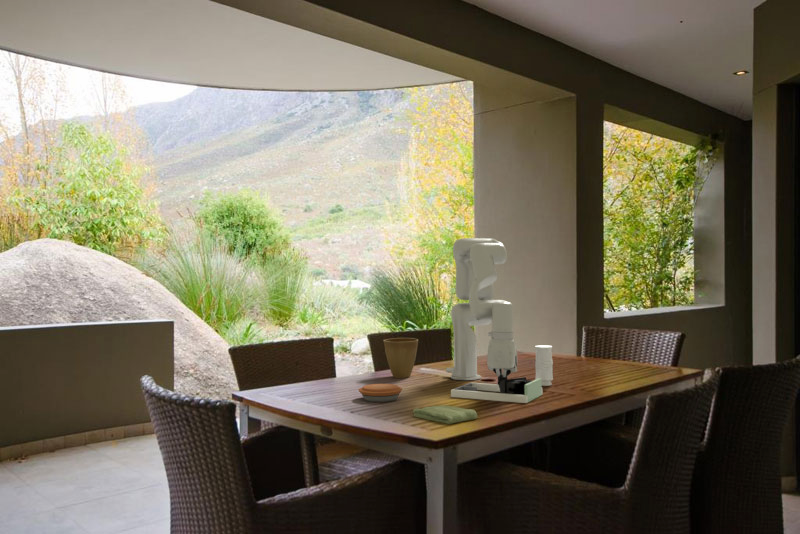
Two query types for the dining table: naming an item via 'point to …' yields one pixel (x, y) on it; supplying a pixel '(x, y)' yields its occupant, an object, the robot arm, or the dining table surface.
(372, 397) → the pie
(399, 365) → the plant pot
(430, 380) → the dining table surface
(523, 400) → the finger lane
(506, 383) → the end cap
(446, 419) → the washcloth
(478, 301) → the robot arm
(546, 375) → the candle
